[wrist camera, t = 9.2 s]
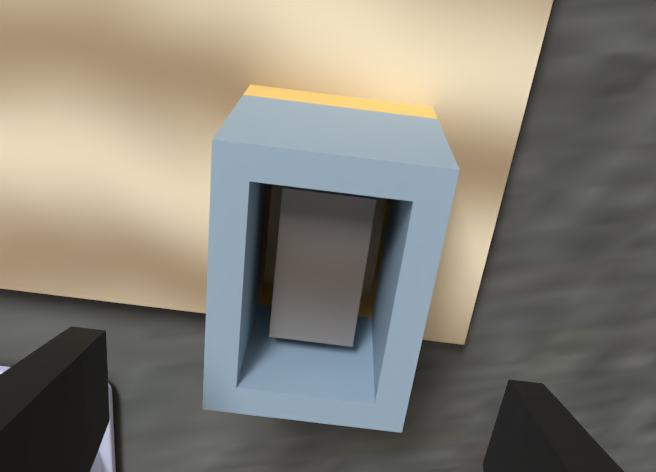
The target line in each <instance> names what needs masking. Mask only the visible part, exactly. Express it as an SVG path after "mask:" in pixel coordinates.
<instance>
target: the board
mask: <svg viewBox="0 0 656 472" xmlns="http://www.w3.org/2000/svg"><path fill="white" fill-rule="evenodd" d="M552 3H553V0H0V288H1V289H9V290H17V291H25V292H33V293H42V294H50V295H58V296H66V297H75V298H83V299H91V300H99V301H108V302H116V303H124V304H132V305H141V306H149V307H157V308H165V309H173V310H182V311H190V312H198V313H206V298H207V270H208V241H209V213H210V184H211V155H212V139H213V137H214V136H215V134H216V133H217V132H218V130H219V129H220V127H221V126H222V124H223V123H224V121H225V120H226V119H227V117H228V116H229V114H230V113H231V111H232V110H233V109H234V107H235V106H236V104H237V103H238V101H239V100H240V99H241V97H242V96H243V94H244V93H245V91H246V90H247V88H248V87H249V86H250V84H251V85H259V86H267V87H275V88H283V89H291V90H299V91H307V92H315V93H323V94H331V95H339V96H347V97H355V98H363V99H371V100H379V101H387V102H395V103H403V104H411V105H419V106H427V107H433V109H434V111H435V114H436V116H437V118H438V121H439V123H440V125H441V128H442V130H443V132H444V135H445V137H446V139H447V142H448V144H449V146H450V149H451V151H452V153H453V156H454V158H455V160H456V163H457V165H458V167H459V170H460V171H459V175H458V180H457V184H456V189H455V193H454V198H453V203H452V207H451V212H450V216H449V221H448V225H447V230H446V234H445V239H444V243H443V248H442V253H441V257H440V262H439V266H438V271H437V275H436V280H435V284H434V289H433V293H432V298H431V303H430V307H429V312H428V316H427V321H426V325H425V330H424V334H423V339H422V340H429V341H437V342H445V343H453V344H462V345H464V343H465V340H466V336H467V332H468V328H469V324H470V320H471V316H472V313H473V309H474V305H475V301H476V297H477V293H478V289H479V286H480V282H481V278H482V274H483V270H484V266H485V262H486V258H487V255H488V251H489V247H490V243H491V239H492V235H493V231H494V228H495V224H496V220H497V216H498V212H499V208H500V204H501V201H502V197H503V193H504V189H505V185H506V181H507V177H508V173H509V170H510V166H511V162H512V158H513V154H514V150H515V146H516V143H517V139H518V135H519V131H520V127H521V123H522V119H523V116H524V112H525V108H526V104H527V100H528V96H529V92H530V88H531V85H532V81H533V77H534V73H535V69H536V65H537V61H538V58H539V54H540V50H541V46H542V42H543V38H544V34H545V31H546V27H547V23H548V19H549V15H550V11H551V7H552ZM386 204H387V198H380V197H372V196H364V195H356V194H348V193H340V192H331V191H323V190H315V189H307V188H299V187H291V186H283V185H274V184H272V188H271V200H270V212H269V225H268V237H267V249H266V262H265V274H264V284H268V285H274V287H273V298H272V309H271V320H270V331H269V337H275V338H283V339H292V340H300V341H308V342H316V343H325V344H333V345H341V346H349V347H353V341H354V335H355V329H356V323H357V317H358V310H359V304H360V298H361V296H367V297H371V293H372V287H373V281H374V275H375V269H376V263H377V257H378V251H379V245H380V240H381V234H382V228H383V222H384V216H385V210H386Z"/></svg>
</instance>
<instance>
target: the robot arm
mask: <svg viewBox="0 0 656 472" xmlns="http://www.w3.org/2000/svg"><path fill="white" fill-rule="evenodd" d="M483 470H484V472H624V471H623V470H622V469H621V468H620V467H619V466H618V465H617V464H616V463H615V462H614V460H613V459H612V458H611V457H610V456H609V455H608V454H607V453H606V452H605V451H604V450H603V449H602V448H601V447H600V445H599V444H598V443H597V442H596V441H595V440H594V439H593V438H592V437H591V436H590V435H589V433H588V432H587V431H586V430H585V429H584V428H583V427H582V426H581V425H580V424H579V422H578V421H577V420H576V419H575V418H574V417H573V416H572V415H571V414H570V412H569V411H568V410H567V409H566V408H565V407H564V406H563V405H562V404H561V402H560V401H559V400H558V399H557V398H556V397H555V396H554V395H553V394H552V393H551V392H550V391H549V390H548V389H547V388H546V386H545V385H544V384H541V383H533V382H525V381H517V380H509V381H508V384H507V387H506V390H505V394H504V397H503V400H502V403H501V407H500V410H499V413H498V416H497V420H496V423H495V426H494V429H493V433H492V436H491V439H490V442H489V446H488V449H487V452H486V455H485V459H484V462H483ZM0 472H116V468H115V446H114V423H113V401H112V388H111V385H110V384H109V383H108V369H107V348H106V331H104V330H96V329H88V328H79V327H70V328H68V329H67V330H65V331H64V332H62V333H61V334H59V335H58V336H56V337H55V338H53V339H52V340H50V341H49V342H47V343H46V344H44V345H43V346H41V347H40V348H38V349H37V350H36V351H34V352H33V353H31V354H30V355H28V356H27V357H25V358H24V359H22V360H21V361H19V362H18V363H17V364H15V365H14V366H12V367H5V366H0Z"/></svg>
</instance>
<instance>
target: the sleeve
mask: <svg viewBox="0 0 656 472" xmlns="http://www.w3.org/2000/svg"><path fill="white" fill-rule="evenodd" d="M459 171H460V170H459V167H458V165H457V163H456V160H455V158H454V156H453V153H452V151H451V149H450V146H449V144H448V142H447V139H446V137H445V135H444V132H443V130H442V128H441V125H440V123H439V121H438V118H437V116H436V114H435V111H434V109H433V107H427V106H419V105H411V104H403V103H395V102H387V101H379V100H371V99H363V98H355V97H347V96H339V95H331V94H323V93H315V92H307V91H299V90H291V89H283V88H275V87H267V86H259V85H251V84H250V86H249V87H248V88H247V90H246V91H245V93H244V94H243V96H242V97H241V99H240V100H239V101H238V103H237V104H236V106H235V107H234V109H233V110H232V111H231V113H230V114H229V116H228V117H227V119H226V120H225V121H224V123H223V124H222V126H221V127H220V129H219V130H218V132H217V133H216V134H215V136H214V137H213V139H212V155H211V184H210V213H209V241H208V270H207V298H206V327H205V356H204V384H203V409H205V410H213V411H222V412H230V413H239V414H247V415H256V416H264V417H273V418H281V419H290V420H298V421H307V422H315V423H323V424H332V425H340V426H349V427H357V428H366V429H374V430H383V431H391V432H400V433H402V430H403V425H404V421H405V416H406V412H407V407H408V402H409V398H410V393H411V389H412V384H413V380H414V375H415V371H416V366H417V362H418V357H419V353H420V348H421V343H422V339H423V334H424V330H425V325H426V321H427V316H428V312H429V307H430V303H431V298H432V293H433V289H434V284H435V280H436V275H437V271H438V266H439V262H440V257H441V253H442V248H443V243H444V239H445V234H446V230H447V225H448V221H449V216H450V212H451V207H452V203H453V198H454V193H455V189H456V184H457V180H458V175H459ZM272 184H274V185H283V186H291V187H299V188H307V189H315V190H323V191H331V192H340V193H348V194H356V195H364V196H372V197H380V198H387V204H386V210H385V216H384V222H383V228H382V234H381V240H380V245H379V251H378V257H377V263H376V269H375V275H374V281H373V287H372V293H371V297H367V296H361V298H360V304H359V310H358V317H357V323H356V329H355V335H354V341H353V347H349V346H341V345H333V344H325V343H316V342H308V341H300V340H292V339H283V338H275V337H269V331H270V320H271V309H272V298H273V287H274V285H268V284H264V274H265V262H266V249H267V237H268V225H269V212H270V200H271V188H272Z"/></svg>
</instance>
